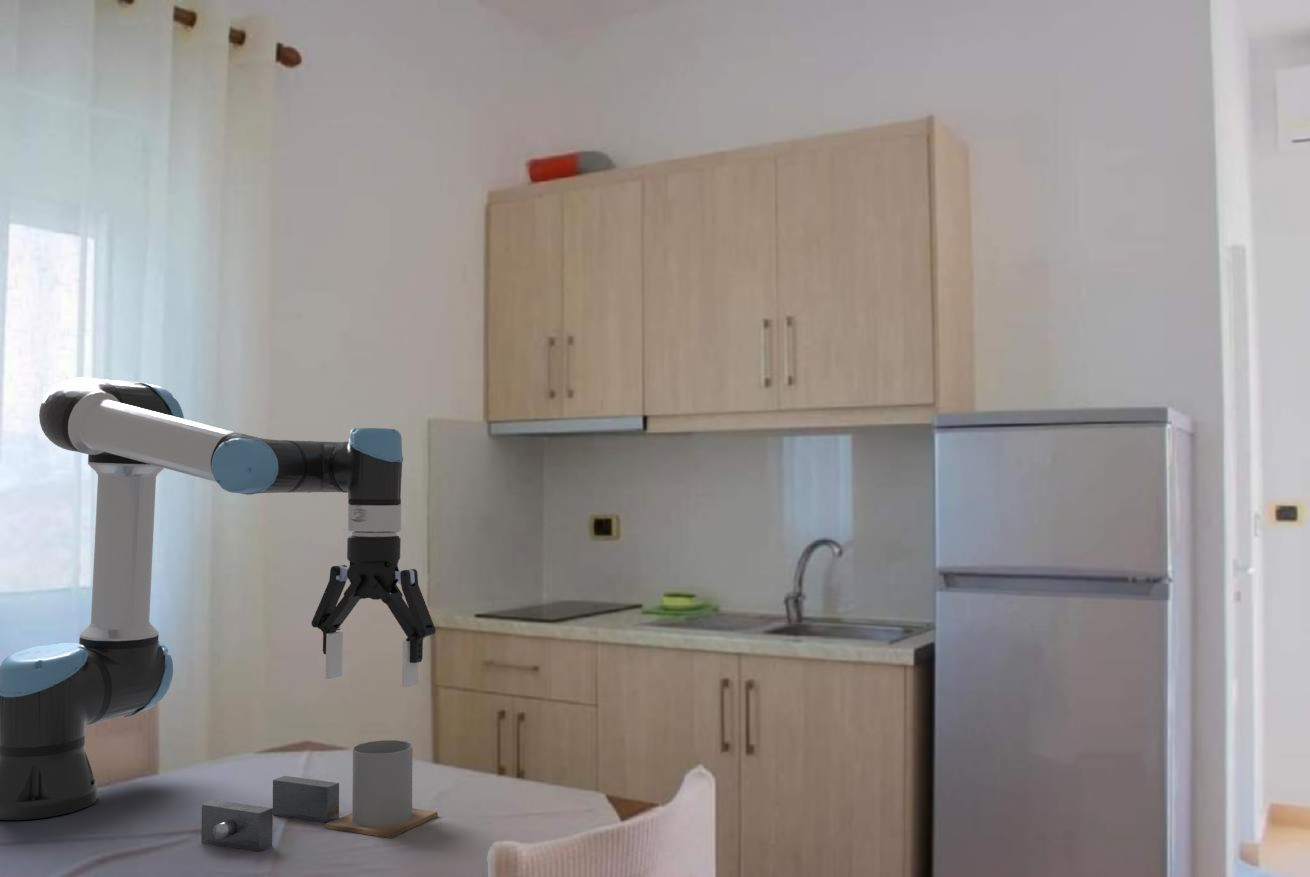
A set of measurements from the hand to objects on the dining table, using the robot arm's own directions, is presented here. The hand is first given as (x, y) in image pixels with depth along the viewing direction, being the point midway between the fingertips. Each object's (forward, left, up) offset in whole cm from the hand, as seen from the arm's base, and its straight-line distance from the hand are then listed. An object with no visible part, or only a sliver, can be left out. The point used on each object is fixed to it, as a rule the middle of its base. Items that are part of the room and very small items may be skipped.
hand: (371, 681), depth 163 cm
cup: (+3, -1, -19) cm, 19 cm away
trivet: (+3, -1, -20) cm, 20 cm away
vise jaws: (-9, -10, -20) cm, 24 cm away
